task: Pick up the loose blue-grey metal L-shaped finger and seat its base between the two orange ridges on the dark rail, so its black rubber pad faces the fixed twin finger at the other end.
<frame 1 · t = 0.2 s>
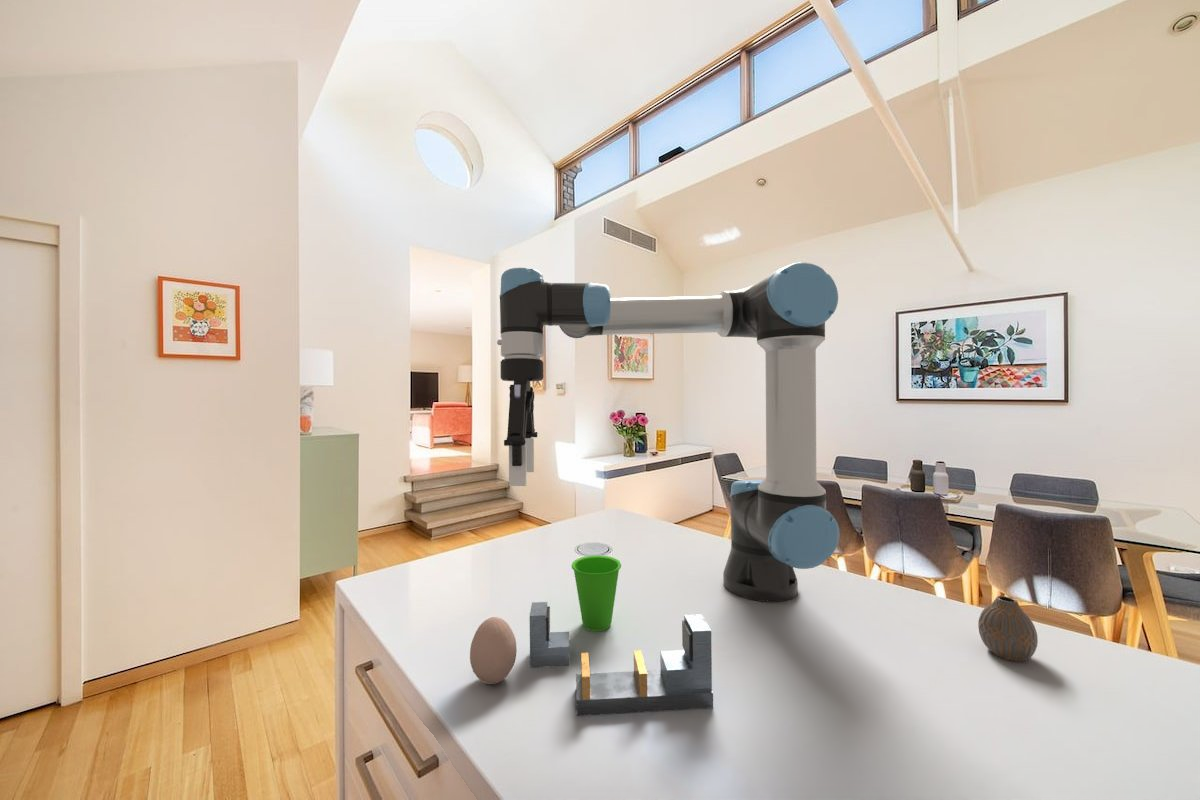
hand: (522, 478, 79), 27 cm above the worktop, fingers open, 13 cm apart
vase: (1007, 655, 71), on the worktop
egg: (493, 682, 65), on the worktop
rail: (642, 697, 61), on the worktop
cup: (597, 625, 81), on the worktop
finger: (550, 658, 71), on the worktop
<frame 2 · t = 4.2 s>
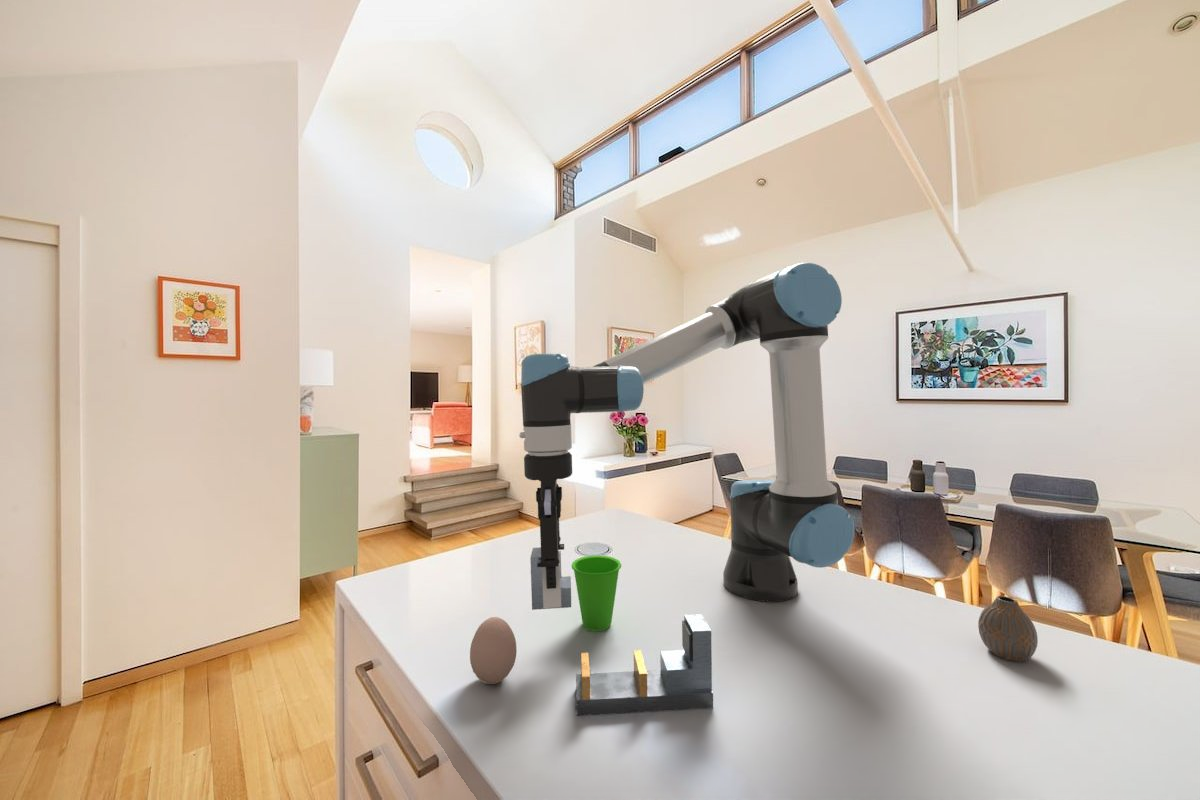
hand: (553, 598, 71), 9 cm above the worktop, fingers closed on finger, 4 cm apart
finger: (552, 601, 71), point 9 cm above the worktop, touching gripper
everything else where it was.
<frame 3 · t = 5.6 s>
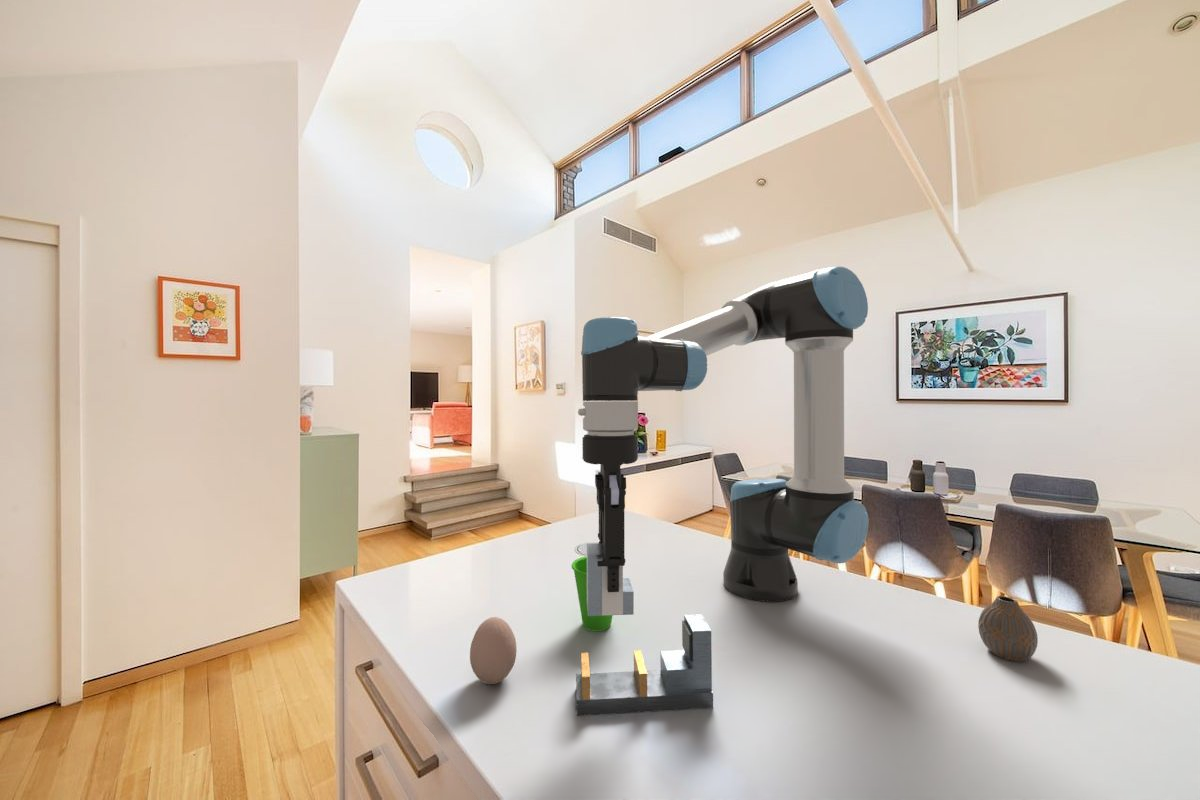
hand: (610, 604, 61), 13 cm above the worktop, fingers closed on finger, 4 cm apart
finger: (609, 607, 61), point 13 cm above the worktop, touching gripper
everything else where it was.
when the fingers open (2 cm above the worktop, at t = 7.2 s): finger stays where it is, resting on rail.
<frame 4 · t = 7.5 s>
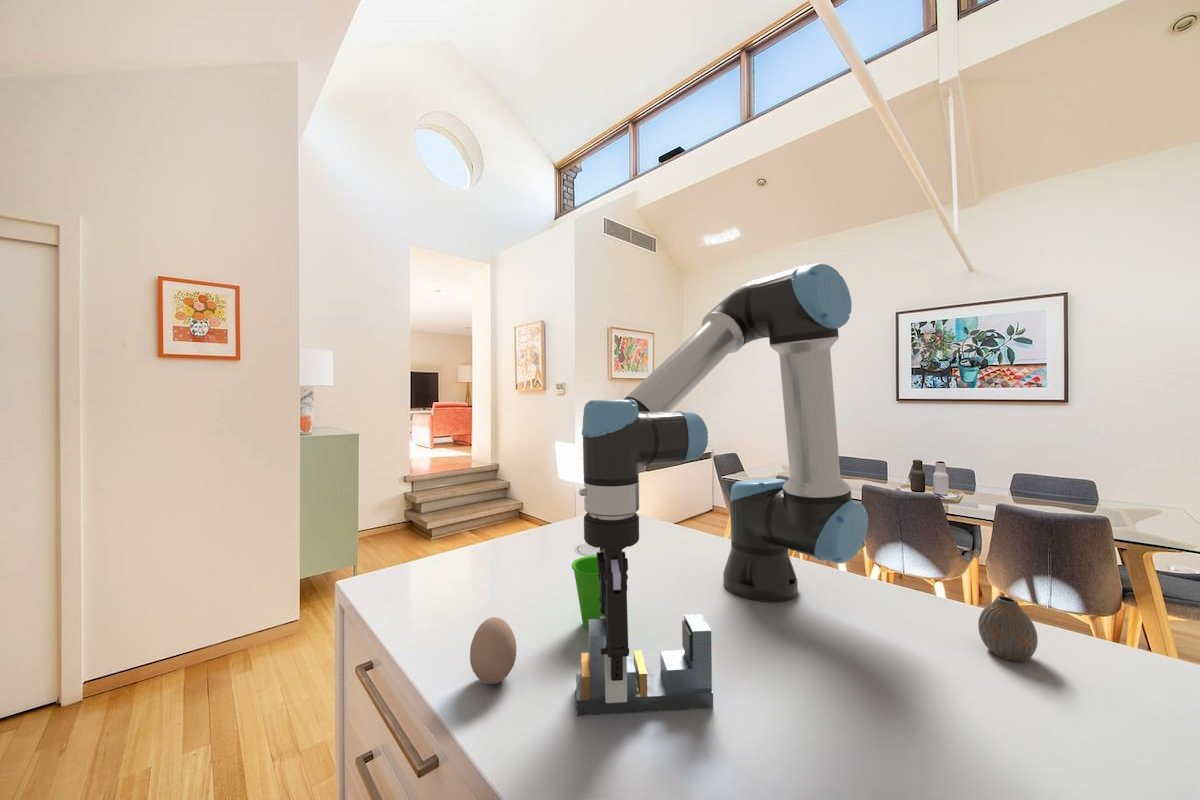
hand: (613, 679, 61), 3 cm above the worktop, fingers open, 8 cm apart
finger: (611, 685, 61), point 2 cm above the worktop, touching rail
everything else where it was.
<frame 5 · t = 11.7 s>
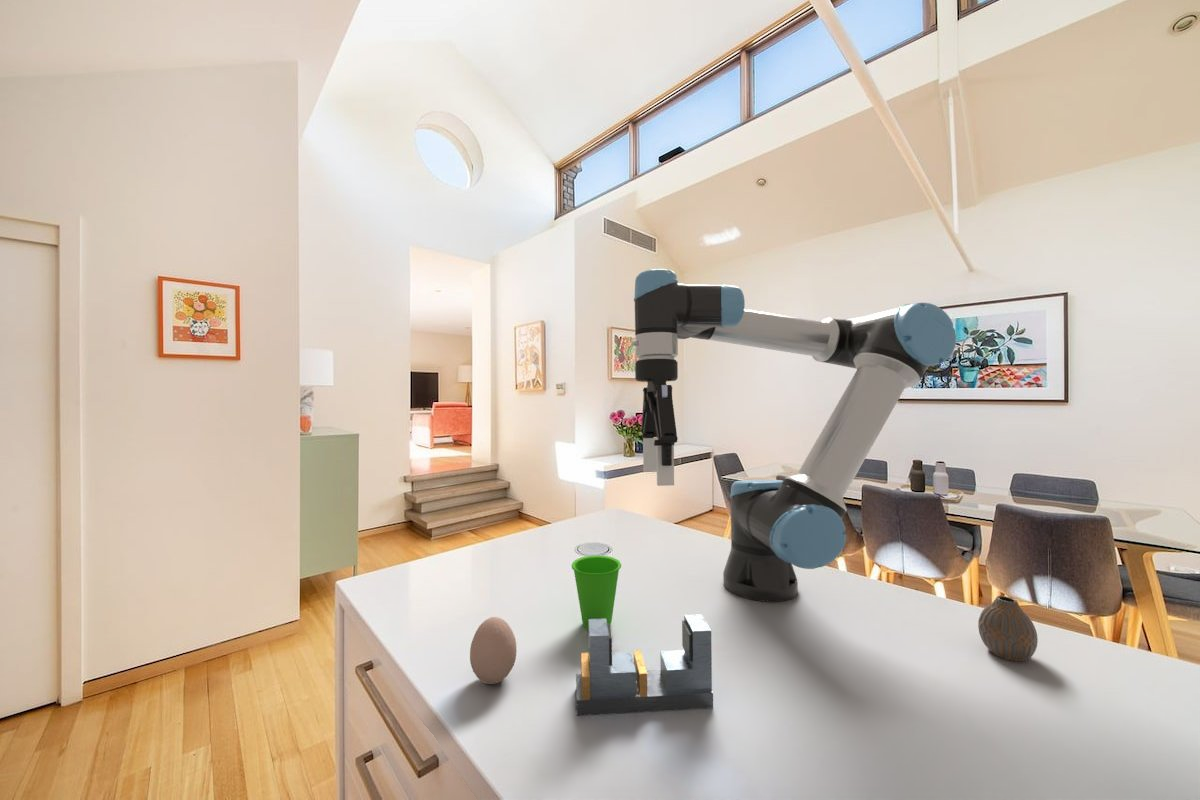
hand: (657, 478, 80), 27 cm above the worktop, fingers open, 13 cm apart
nothing on the worktop moved.
at the end: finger 0.2 cm from the target spot on the rail, point 2.0 cm above the rail's base; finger tilted 0°; the gripper is holding nothing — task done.
